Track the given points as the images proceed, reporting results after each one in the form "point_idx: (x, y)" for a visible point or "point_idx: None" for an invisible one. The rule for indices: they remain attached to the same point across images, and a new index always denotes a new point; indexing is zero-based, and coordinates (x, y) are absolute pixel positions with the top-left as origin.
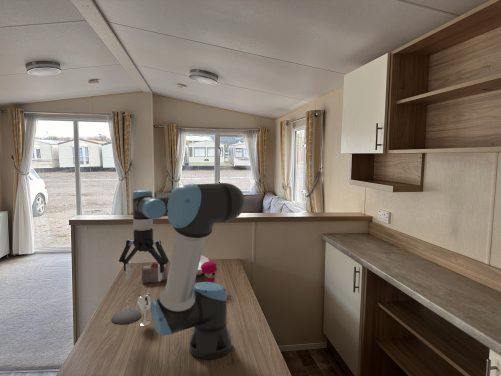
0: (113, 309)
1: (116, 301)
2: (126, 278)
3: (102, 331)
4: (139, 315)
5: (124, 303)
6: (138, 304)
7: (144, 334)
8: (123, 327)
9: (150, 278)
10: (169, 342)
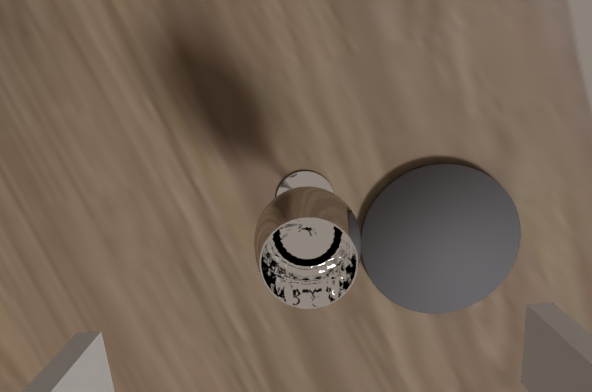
0: None
1: None
2: (557, 312)
3: (492, 68)
4: (370, 259)
5: None
6: (331, 195)
7: (246, 88)
8: (398, 133)
9: None
10: (73, 39)
